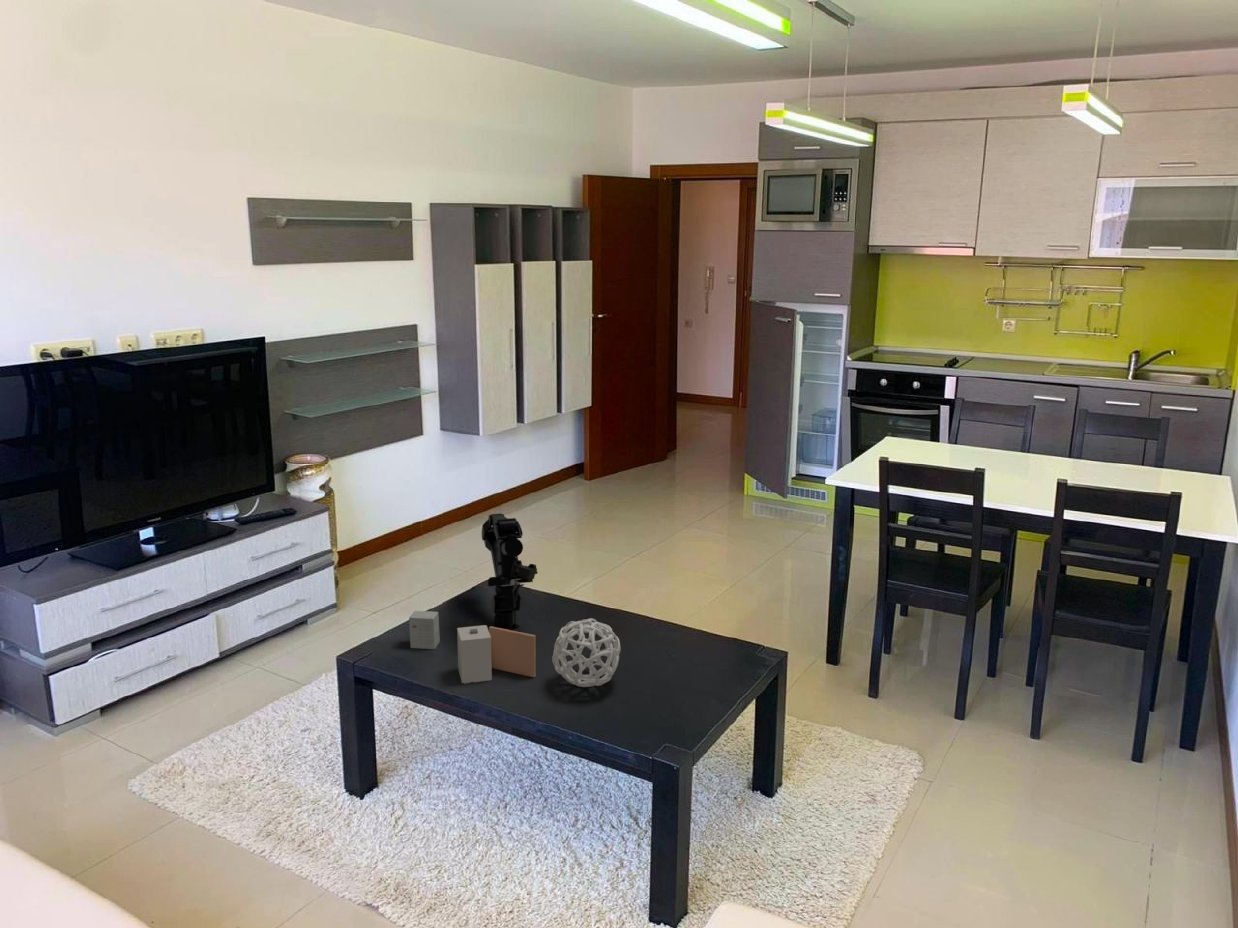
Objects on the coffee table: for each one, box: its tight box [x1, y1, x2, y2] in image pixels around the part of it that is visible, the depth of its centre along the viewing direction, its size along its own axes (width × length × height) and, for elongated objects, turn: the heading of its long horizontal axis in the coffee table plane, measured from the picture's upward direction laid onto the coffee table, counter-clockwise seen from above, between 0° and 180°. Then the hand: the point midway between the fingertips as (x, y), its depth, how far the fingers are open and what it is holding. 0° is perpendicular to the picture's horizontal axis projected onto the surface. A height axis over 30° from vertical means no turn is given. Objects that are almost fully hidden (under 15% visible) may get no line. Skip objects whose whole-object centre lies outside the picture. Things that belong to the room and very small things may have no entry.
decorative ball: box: [551, 617, 622, 688], centre depth 265 cm, size 20×20×19 cm
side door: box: [488, 625, 537, 678], centre depth 272 cm, size 1×15×13 cm, turn 67°
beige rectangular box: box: [456, 624, 493, 684], centre depth 271 cm, size 10×9×14 cm
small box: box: [408, 610, 441, 650], centre depth 290 cm, size 8×6×10 cm
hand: (512, 607), depth 290 cm, fingers closed
